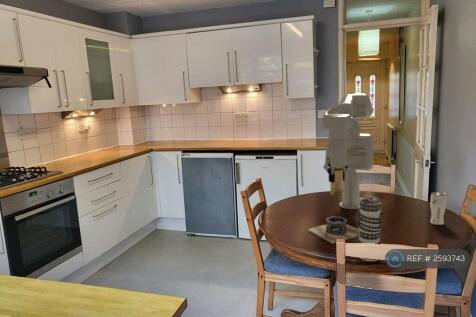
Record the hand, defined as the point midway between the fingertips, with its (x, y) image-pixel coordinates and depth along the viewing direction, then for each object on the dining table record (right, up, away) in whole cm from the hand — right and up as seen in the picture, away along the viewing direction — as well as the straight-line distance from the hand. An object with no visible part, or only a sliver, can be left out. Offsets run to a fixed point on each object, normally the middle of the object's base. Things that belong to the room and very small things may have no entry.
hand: (336, 180), depth 168 cm
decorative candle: (+8, -30, -21) cm, 37 cm away
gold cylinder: (0, -6, +1) cm, 6 cm away
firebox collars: (+1, -25, +5) cm, 26 cm away
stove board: (+1, -25, +5) cm, 26 cm away
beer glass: (+53, -22, +12) cm, 59 cm away
